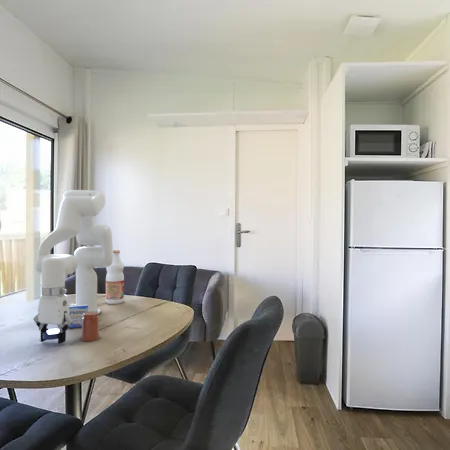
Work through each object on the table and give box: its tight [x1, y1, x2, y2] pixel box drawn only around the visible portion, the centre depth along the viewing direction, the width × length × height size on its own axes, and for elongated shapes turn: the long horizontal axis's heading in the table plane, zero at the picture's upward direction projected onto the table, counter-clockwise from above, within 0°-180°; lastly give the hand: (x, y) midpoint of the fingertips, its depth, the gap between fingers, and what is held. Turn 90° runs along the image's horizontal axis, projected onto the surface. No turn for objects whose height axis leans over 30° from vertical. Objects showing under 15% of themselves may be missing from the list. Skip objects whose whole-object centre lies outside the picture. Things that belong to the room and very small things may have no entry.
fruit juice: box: [105, 249, 125, 305], centre depth 200 cm, size 9×9×28 cm
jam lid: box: [43, 328, 60, 341], centre depth 132 cm, size 7×7×2 cm
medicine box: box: [68, 304, 88, 329], centre depth 155 cm, size 8×4×9 cm, turn 117°
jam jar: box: [81, 312, 100, 342], centre depth 138 cm, size 6×6×10 cm
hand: (53, 341), depth 132 cm, fingers closed on jam lid, 6 cm apart
